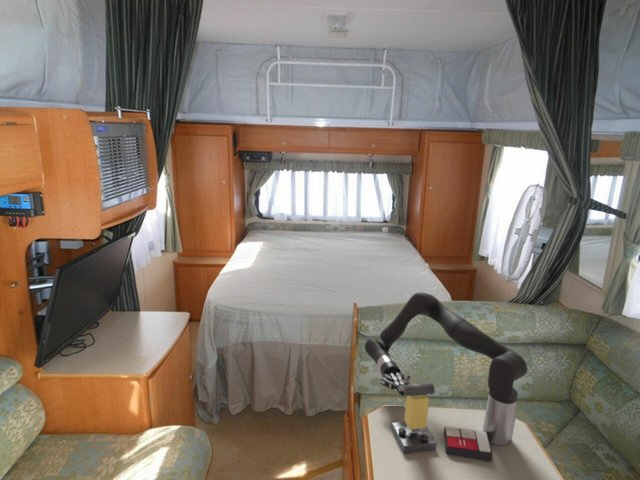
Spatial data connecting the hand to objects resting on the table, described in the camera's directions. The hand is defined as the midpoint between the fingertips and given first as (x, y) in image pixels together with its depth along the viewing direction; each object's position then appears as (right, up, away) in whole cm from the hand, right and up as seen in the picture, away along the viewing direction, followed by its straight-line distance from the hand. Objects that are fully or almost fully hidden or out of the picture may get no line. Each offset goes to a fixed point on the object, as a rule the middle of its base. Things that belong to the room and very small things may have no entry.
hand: (403, 393), depth 161 cm
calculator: (+20, -16, -10) cm, 28 cm away
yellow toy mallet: (+2, -9, -9) cm, 13 cm away
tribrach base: (+2, -14, -8) cm, 16 cm away
